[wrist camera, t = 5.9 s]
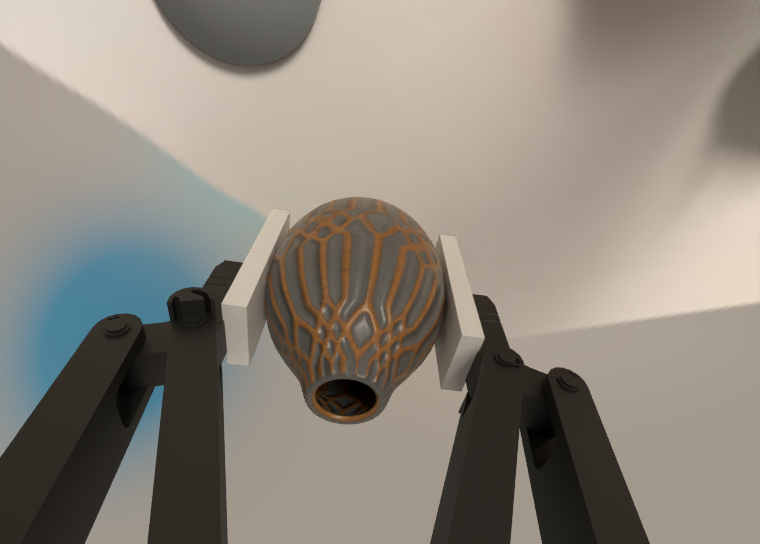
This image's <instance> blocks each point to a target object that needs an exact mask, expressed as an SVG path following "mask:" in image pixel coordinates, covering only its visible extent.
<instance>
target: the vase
mask: <svg viewBox="0 0 760 544" xmlns="http://www.w3.org/2000/svg"><path fill="white" fill-rule="evenodd" d="M444 308H445V283H444V276H443V271H442V267H441V264H440V260H439V258H438V255H437V252H436V250H435V247H434V245H433V244H432V242H431V240H430V239H429V237H428V236H427V234H426V233H425V231H424V230H423V229H422V228H421V226H420V225H419V224H418V223H417V222H416V221H415V220H414V219H412V218H411V217H410V216H409V215H408V214H407V213H405V212H404V211H402V210H401V209H399V208H397V207H395V206H393V205H391V204H389V203H386V202H384V201H380V200H377V199H372V198H366V197H350V198H343V199H338V200H334V201H331V202H328V203H326V204H323V205H321V206H319V207H317V208H316V209H314V210H312V211H311V212H309V213H308V214H306V215H305V216H304V217H303V218H301V219H300V220H299V221H298V222H297V223H296V224H295V225H294V226H293V227H292V228H291V229H290V231H289V232H288V233H287V235H286V236H285V238H284V239H283V241H282V242H281V244H280V246H279V248H278V249H277V252H276V254H275V256H274V258H273V260H272V263H271V266H270V269H269V272H268V277H267V282H266V291H265V310H266V318H267V324H268V328H269V332H270V335H271V338H272V341H273V343H274V345H275V347H276V349H277V351H278V352H279V354H280V356H281V357H282V358H283V360H284V362H285V363H286V364H287V366H288V367H289V368H290V370H291V371H292V372H293V374H294V375H295V376H296V377H297V379H298V380H299V382H300V385H301V388H302V392H303V395H304V399H305V402H306V403H307V406H308V407H309V409H310V410H311V411H312V412H313V413H314V414H316V415H317V416H319V417H320V418H322V419H325V420H327V421H330V422H333V423H339V424H358V423H363V422H366V421H369V420H372V419H374V418H375V417H377V416H378V415H379V414H380V413H381V412H382V411H383V410H384V408H385V407H386V405H387V403H388V401H389V399H390V397H391V395H392V393H393V391H394V390H395V389H396V388H397V387H398V386H399V385H400V384H401V383H402V382H404V381H405V380H406V379H407V378H408V377H409V376H410V375H411V374H412V373H413V372H414V371H415V370H416V369H417V368H418V367H419V366H420V365H421V364H422V362H423V361H424V360H425V358H426V357H427V356H428V354H429V353H430V351H431V349H432V347H433V345H434V343H435V341H436V339H437V336H438V333H439V330H440V327H441V323H442V319H443V314H444Z"/></svg>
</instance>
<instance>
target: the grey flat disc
mask: <svg viewBox="0 0 760 544" xmlns="http://www.w3.org/2000/svg"><path fill="white" fill-rule="evenodd" d="M320 1H321V0H156V2H157V4H158V5H159V7H160V8H161V10H162V11H163V13H164V14H165V16H166V17H167V19H168V20H169V21H170V22H171V24H172V25H173V26H174V27H175V29H176V30H177V31H178V32H179V33H180V34H181V35H182V36H183V37H184V38H185V39H186V40H188V41H189V42H190V43H191V44H192V45H193V46H195V47H196V48H198V49H199V50H201V51H202V52H204V53H205V54H207V55H209V56H211V57H213V58H215V59H217V60H220V61H222V62H225V63H229V64H233V65H238V66H259V65H264V64H268V63H271V62H274V61H276V60H278V59H280V58H282V57H284V56H286V55H287V54H289V53H290V52H291V51H292V50H294V49H295V48H296V47H297V46H298V45H299V44H300V43H301V42H302V41H303V39H304V38H305V36H306V35H307V34H308V32H309V30H310V29H311V27H312V25H313V23H314V21H315V18H316V15H317V13H318V10H319V6H320Z"/></svg>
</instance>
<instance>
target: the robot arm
mask: <svg viewBox="0 0 760 544" xmlns="http://www.w3.org/2000/svg"><path fill="white" fill-rule="evenodd" d="M289 219H290V211H286V210H279V209H272V211H271V212H270V214H269V216H268V218H267V220H266V222H265V224H264V226H263V227H262V229H261V231H260V233H259V235H258V237H257V239H256V240H255V242H254V244H253V246H252V248H251V250H250V251H249V253H248V255H247V257H246V259H245V261H244V263H240V262H233V261H226V260H225V261H224V262H223V263H221V264H219V265H218V266H216V267H215V269H214V270H213V272H212V273H211V275H210V277H209V278H208V279H207V281H206V283H205V284H204V286H203V287H202V288H198V287H191V288H185V289H181V290H179V291H177V292H175V293H174V294H173V295H171V296H170V297H169V299H168V301H167V306H168V311H169V316H170V321H168V322H163V323H154V324H144V325H143V324H142V322H141V319H140V318H138V317H137V316H135V315H131V314H116V315H113V316H109V317H106V318H105V319H102V320H101V321H99V322H98V323H97V324H96V325H95V326H94V327H93V328H92V329H91V330H90V332H89V333H88V335H87V336H86V338H85V339H84V340H83V342H82V343H81V345H80V346H79V347H78V349H77V350H76V352H75V353H74V354H73V356H72V357H71V359H70V360H69V362H68V363H67V364H66V366H65V367H64V369H63V370H62V371H61V373H60V374H59V375H58V377H57V378H56V380H55V381H54V383H53V384H52V385H51V387H50V388H49V390H48V391H47V392H46V394H45V395H44V397H43V398H42V399H41V401H40V402H39V404H38V405H37V407H36V408H35V409H34V411H33V412H32V414H31V415H30V416H29V418H28V419H27V421H26V422H25V423H24V425H23V426H22V428H21V429H20V431H19V432H18V434H17V435H16V437H15V438H14V439H13V441H12V442H11V443H10V445H9V446H8V447H7V449H6V450H5V452H4V453H3V455H2V456H1V457H0V544H85V541H86V539H87V537H88V535H89V533H90V530H91V528H92V526H93V524H94V522H95V519H96V517H97V515H98V513H99V510H100V508H101V506H102V504H103V501H104V499H105V497H106V495H107V493H108V490H109V488H110V486H111V484H112V481H113V479H114V477H115V475H116V473H117V470H118V468H119V466H120V463H121V461H122V459H123V457H124V455H125V452H126V450H127V448H128V446H129V444H130V441H131V439H132V437H133V435H134V432H135V430H136V428H137V425H138V423H139V421H140V419H141V417H142V414H143V412H144V410H145V408H146V406H147V403H148V401H149V399H150V397H151V394H152V392H153V390H154V388H155V386H160V385H164V392H163V401H162V411H161V420H160V430H159V439H158V448H157V458H156V467H155V477H154V486H153V496H152V505H151V515H150V524H149V534H148V544H228V538H227V508H226V476H225V445H224V413H223V386H222V385H223V382H222V365H221V363H222V361H223V359H224V356H225V355H226V358H227V364H235V365H244V366H249V365H250V363H251V360H252V357H253V354H254V352H255V349H256V346H257V344H258V341H259V338H260V336H261V333H262V330H263V327H264V325H265V322H266V320H267V318H266V310H265V291H266V282H267V277H268V272H269V269H270V266H271V263H272V260H273V258H274V256H275V254H276V252H277V249H278V248H279V246H280V244H281V242H282V241H283V239H284V238H285V236H286V235H287V233H288V232H289ZM435 250H436V252H437V255H438V258H439V260H440V264H441V267H442V271H443V276H444V283H445V308H444V314H443V319H442V323H441V327H440V330H439V333H438V336H437V339H436V341H435V349H436V357H437V363H438V370H439V378H440V386H441V389H446V390H447V389H448V390H455V391H461V390H462V388H463V386H464V384H465V382H466V384H467V389H468V392H467V395H466V397H465V399H464V401H463V403H462V406H461V408H460V410H459V413H461V416H460V420H459V424H458V428H457V432H456V436H455V441H454V445H453V449H452V453H451V458H450V462H449V466H448V471H447V474H446V479H445V483H444V487H443V491H442V496H441V500H440V504H439V509H438V513H437V517H436V521H435V525H434V530H433V534H432V539H431V542H430V544H510V539H511V527H512V515H513V502H514V489H515V477H516V464H517V451H518V440H519V428H520V432H521V437H522V442H523V447H524V453H525V457H526V463H527V468H528V473H529V478H530V483H531V488H532V494H533V498H534V504H535V509H536V514H537V519H538V524H539V530H540V535H541V540H542V544H650V543H649V540H648V538H647V535H646V533H645V530H644V528H643V525H642V523H641V520H640V518H639V515H638V512H637V510H636V508H635V505H634V502H633V500H632V497H631V495H630V492H629V490H628V487H627V485H626V482H625V480H624V477H623V475H622V472H621V469H620V467H619V464H618V462H617V460H616V457H615V454H614V452H613V449H612V447H611V444H610V442H609V439H608V437H607V434H606V432H605V429H604V427H603V424H602V421H601V419H600V416H599V414H598V411H597V409H596V406H595V404H594V401H593V399H592V396H591V394H590V391H589V388H588V386H587V385H586V383H585V381H584V380H583V379H582V378H580V376H578V375H577V374H576V373H574V372H572V371H571V370H568V369H565V368H559V367H558V368H557V367H556V368H553V369H551V370H550V371H549V373H548V374H545V373H542V372H539V371H537V370H535V369H532V368H530V367H528V366H525V365H524V362H523V360H522V358H521V357H520V355H519V354H517V353H516V352H515V351H513V350H512V349H510V348H509V345H508V342H507V339H506V336H505V333H504V330H503V327H502V325H501V323H500V319H499V316H498V313H497V310H496V307H495V305H494V304H493V302H492V301H491V300H490V299H489V298H488V297H487V296H482V295H475V294H472V292H471V288H470V285H469V281H468V278H467V274H466V271H465V267H464V264H463V260H462V257H461V253H460V250H459V246H458V243H457V239H456V236H450V235H444V234H439V238H438V241H437V245H436V248H435Z"/></svg>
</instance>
